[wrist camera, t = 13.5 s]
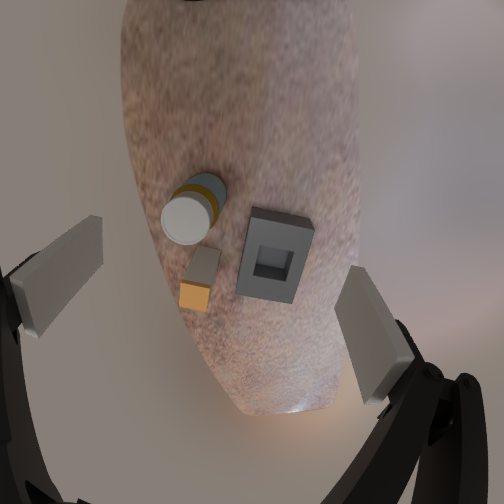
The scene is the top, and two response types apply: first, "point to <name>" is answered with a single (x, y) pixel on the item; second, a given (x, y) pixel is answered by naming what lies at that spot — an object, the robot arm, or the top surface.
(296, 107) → the top surface
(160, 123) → the top surface
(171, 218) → the bottle
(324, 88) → the top surface
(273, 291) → the gray socket block
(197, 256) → the plug
